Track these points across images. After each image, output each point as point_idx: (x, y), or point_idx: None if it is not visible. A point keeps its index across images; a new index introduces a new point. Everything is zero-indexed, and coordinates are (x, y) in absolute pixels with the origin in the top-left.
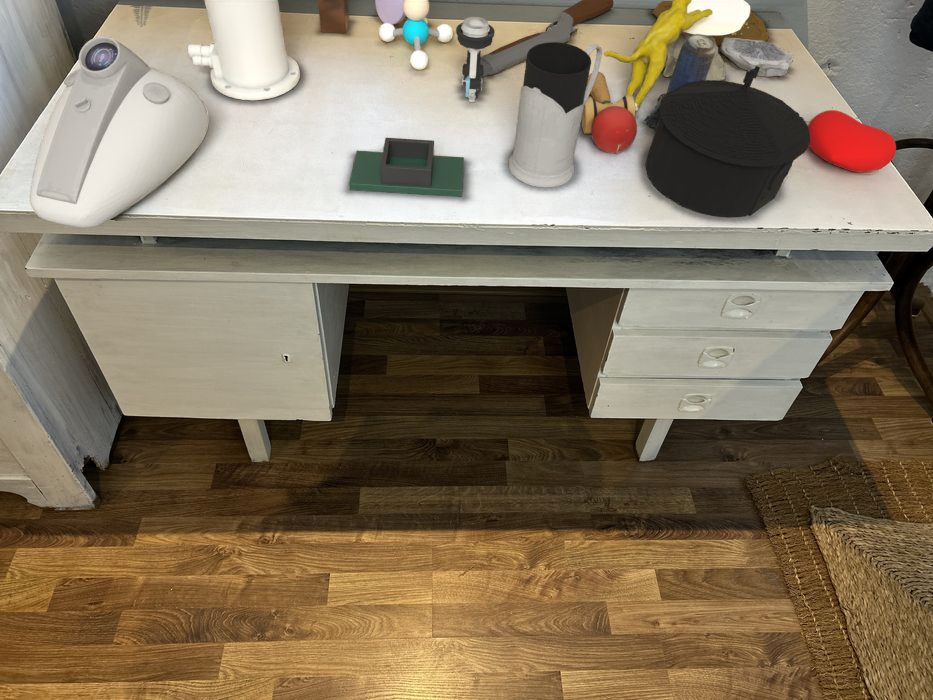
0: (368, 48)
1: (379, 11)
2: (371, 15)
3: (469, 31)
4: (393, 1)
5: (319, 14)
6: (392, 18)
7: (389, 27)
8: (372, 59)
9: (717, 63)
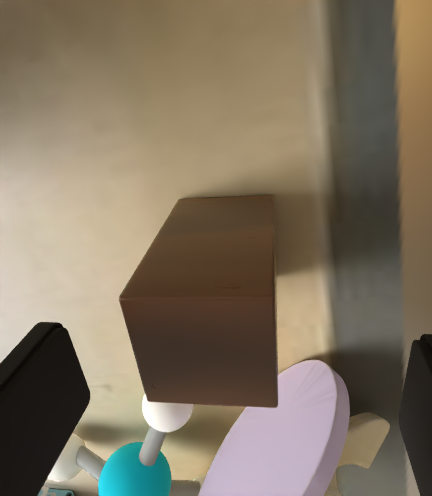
0: (128, 340)
1: (311, 376)
2: (339, 332)
3: None
4: (245, 472)
5: (161, 228)
6: (252, 414)
7: (152, 426)
8: (78, 353)
9: None
